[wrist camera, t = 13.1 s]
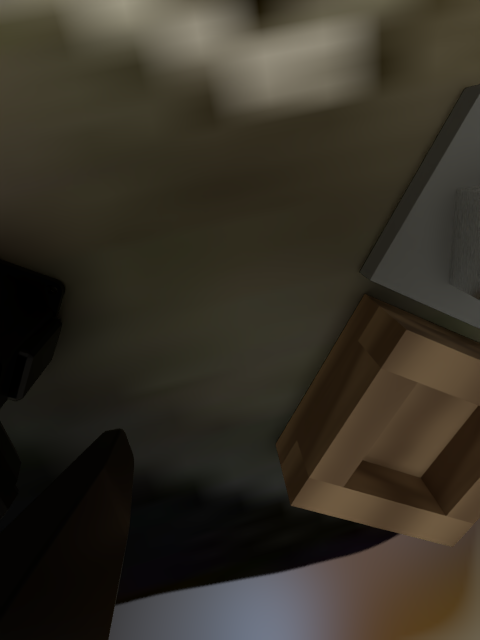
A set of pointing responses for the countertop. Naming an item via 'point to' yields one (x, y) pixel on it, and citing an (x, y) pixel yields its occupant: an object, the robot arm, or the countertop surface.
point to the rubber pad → (432, 219)
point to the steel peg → (466, 242)
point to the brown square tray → (390, 428)
